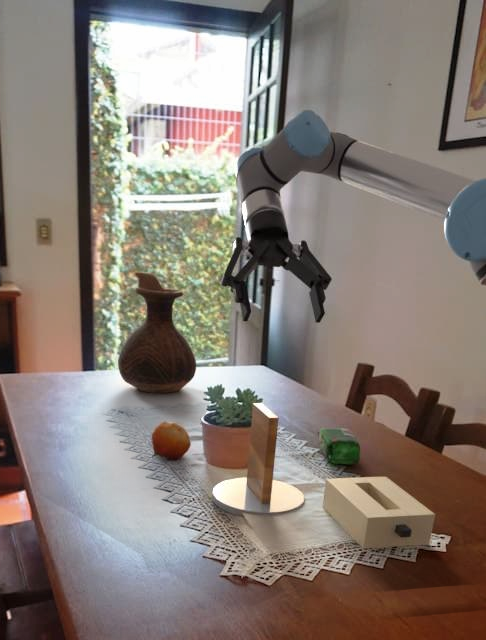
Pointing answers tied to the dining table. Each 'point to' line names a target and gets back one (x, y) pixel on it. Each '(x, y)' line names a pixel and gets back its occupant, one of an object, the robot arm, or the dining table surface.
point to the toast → (262, 452)
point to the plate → (255, 498)
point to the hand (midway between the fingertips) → (284, 317)
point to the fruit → (170, 441)
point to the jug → (157, 344)
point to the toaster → (377, 512)
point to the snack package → (339, 446)
